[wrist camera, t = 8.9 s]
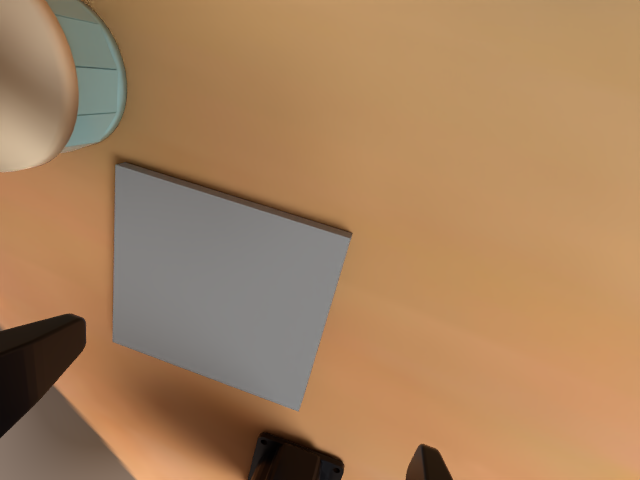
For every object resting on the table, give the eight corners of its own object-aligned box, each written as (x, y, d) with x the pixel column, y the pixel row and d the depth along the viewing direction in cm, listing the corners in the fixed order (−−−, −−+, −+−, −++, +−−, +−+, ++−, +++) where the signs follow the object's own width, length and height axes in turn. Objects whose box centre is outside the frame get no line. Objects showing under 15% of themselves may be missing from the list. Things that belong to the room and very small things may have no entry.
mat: (301, 402, 26) (298, 411, 25) (120, 335, 28) (112, 341, 27) (352, 233, 21) (350, 238, 20) (125, 162, 22) (115, 164, 22)
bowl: (125, 163, 22) (70, 177, 19) (8, 126, 23) (-67, 133, 20) (130, 7, 19) (63, -13, 15) (-7, -28, 20) (-100, -55, 16)
